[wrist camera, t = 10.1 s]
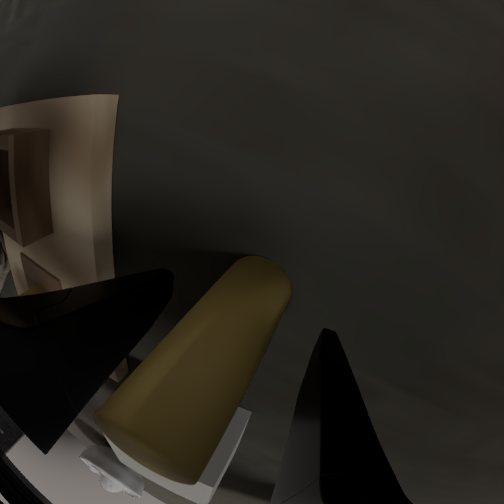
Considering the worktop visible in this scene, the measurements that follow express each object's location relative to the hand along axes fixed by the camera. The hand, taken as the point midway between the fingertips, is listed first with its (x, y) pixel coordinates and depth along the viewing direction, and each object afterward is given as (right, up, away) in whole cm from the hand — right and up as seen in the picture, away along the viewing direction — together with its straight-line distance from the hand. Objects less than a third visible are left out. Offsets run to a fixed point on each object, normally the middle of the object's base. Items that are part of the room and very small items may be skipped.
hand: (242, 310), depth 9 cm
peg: (+1, +1, +1) cm, 2 cm away
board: (-12, +3, +5) cm, 13 cm away
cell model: (-18, -28, +21) cm, 39 cm away
